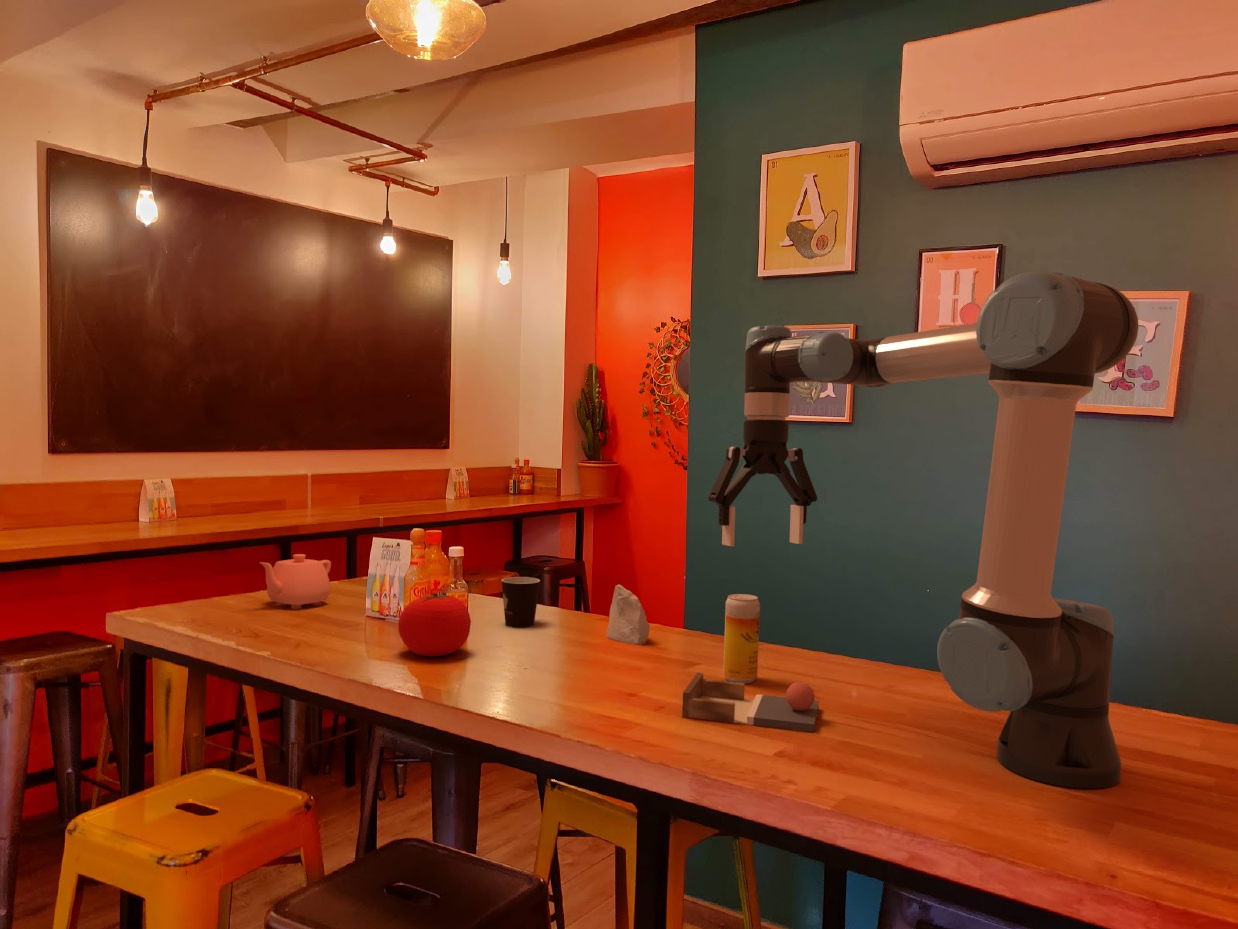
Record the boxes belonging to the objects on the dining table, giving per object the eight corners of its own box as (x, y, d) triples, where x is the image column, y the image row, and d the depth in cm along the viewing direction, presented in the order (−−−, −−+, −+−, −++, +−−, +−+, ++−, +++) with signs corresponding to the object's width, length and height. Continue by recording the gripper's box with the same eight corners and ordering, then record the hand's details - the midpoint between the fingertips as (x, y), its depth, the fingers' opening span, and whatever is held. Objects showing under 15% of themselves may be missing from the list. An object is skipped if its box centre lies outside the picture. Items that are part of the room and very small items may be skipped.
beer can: (756, 685, 154) (759, 601, 153) (721, 682, 155) (724, 598, 155) (757, 676, 160) (760, 594, 159) (724, 673, 161) (727, 592, 160)
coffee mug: (536, 629, 192) (538, 584, 191) (497, 628, 192) (498, 583, 191) (542, 618, 203) (543, 575, 203) (505, 617, 203) (506, 574, 203)
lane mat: (818, 708, 142) (818, 701, 142) (813, 732, 130) (814, 724, 130) (696, 694, 147) (697, 687, 147) (682, 716, 136) (682, 709, 136)
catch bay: (744, 700, 145) (744, 677, 145) (733, 722, 134) (734, 698, 134) (696, 694, 147) (697, 672, 147) (682, 716, 136) (682, 692, 136)
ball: (820, 712, 136) (821, 684, 136) (800, 716, 134) (801, 688, 134) (799, 704, 140) (800, 677, 140) (779, 708, 137) (780, 680, 137)
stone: (651, 643, 183) (653, 588, 182) (632, 646, 179) (635, 590, 179) (619, 633, 190) (621, 580, 190) (601, 636, 187) (603, 582, 187)
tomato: (449, 665, 161) (450, 602, 160) (385, 657, 165) (386, 596, 165) (482, 649, 173) (483, 591, 173) (421, 642, 177) (423, 585, 177)
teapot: (241, 608, 205) (242, 556, 204) (312, 595, 222) (313, 548, 221) (277, 615, 198) (278, 562, 197) (348, 602, 214) (348, 553, 214)
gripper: (813, 421, 156) (810, 539, 157) (690, 416, 146) (687, 543, 147) (840, 421, 149) (836, 544, 150) (713, 416, 139) (709, 549, 140)
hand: (762, 544), depth 148 cm, fingers open, 13 cm apart
